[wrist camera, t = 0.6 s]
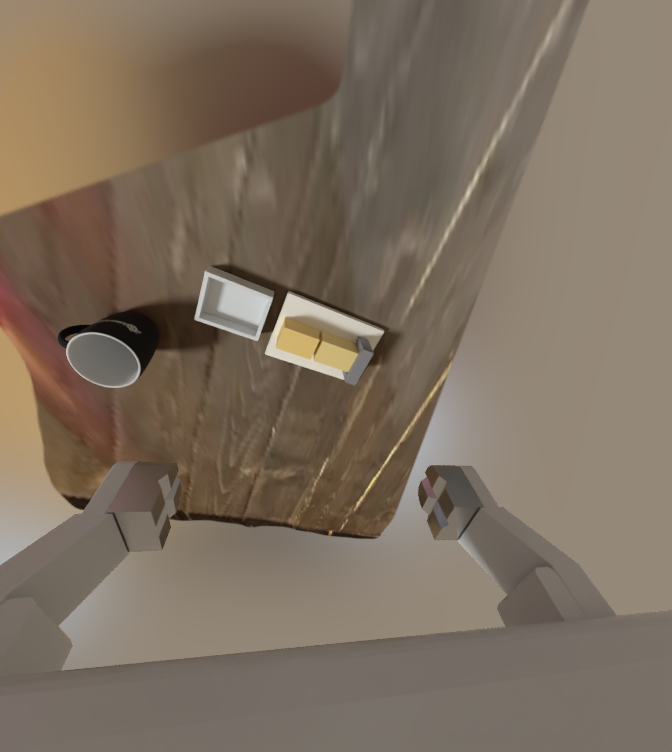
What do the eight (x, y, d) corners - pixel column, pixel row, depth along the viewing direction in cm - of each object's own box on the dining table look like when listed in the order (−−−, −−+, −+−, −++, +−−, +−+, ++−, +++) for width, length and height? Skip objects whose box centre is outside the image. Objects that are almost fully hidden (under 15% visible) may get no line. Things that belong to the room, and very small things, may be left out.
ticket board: (288, 290, 48) (287, 304, 43) (382, 328, 54) (391, 344, 49) (265, 350, 54) (262, 369, 48) (353, 379, 59) (358, 398, 54)
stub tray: (210, 265, 45) (205, 271, 42) (274, 291, 48) (273, 297, 45) (199, 312, 48) (194, 319, 46) (259, 333, 52) (257, 341, 49)
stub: (285, 316, 49) (284, 327, 46) (318, 329, 51) (319, 339, 48) (277, 337, 51) (275, 348, 48) (309, 348, 53) (310, 359, 50)
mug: (167, 312, 48) (140, 341, 39) (165, 358, 52) (141, 393, 44) (80, 291, 45) (31, 317, 36) (86, 342, 49) (43, 376, 41)
